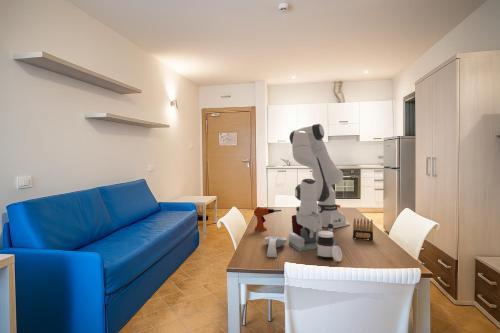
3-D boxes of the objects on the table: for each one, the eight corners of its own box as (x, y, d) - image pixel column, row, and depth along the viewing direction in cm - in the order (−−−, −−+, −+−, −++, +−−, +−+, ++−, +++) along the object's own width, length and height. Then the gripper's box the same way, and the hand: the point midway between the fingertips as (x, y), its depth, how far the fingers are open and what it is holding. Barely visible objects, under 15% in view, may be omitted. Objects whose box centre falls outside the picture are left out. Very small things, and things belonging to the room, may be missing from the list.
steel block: (312, 240, 155) (313, 227, 155) (315, 241, 152) (316, 228, 152) (300, 241, 153) (300, 228, 152) (303, 243, 150) (303, 230, 150)
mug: (290, 231, 180) (291, 213, 179) (305, 231, 179) (305, 213, 178) (292, 236, 168) (292, 218, 167) (307, 237, 167) (307, 218, 166)
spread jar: (317, 252, 143) (318, 229, 142) (341, 254, 139) (342, 231, 139) (316, 261, 131) (316, 236, 130) (342, 264, 128) (342, 238, 127)
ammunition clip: (352, 239, 164) (353, 218, 163) (352, 238, 165) (353, 217, 165) (373, 240, 160) (373, 219, 160) (372, 239, 162) (373, 218, 161)
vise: (324, 239, 162) (324, 229, 162) (336, 245, 152) (336, 234, 151) (288, 244, 155) (288, 233, 155) (298, 250, 145) (298, 239, 144)
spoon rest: (265, 241, 160) (265, 228, 160) (286, 242, 158) (287, 229, 158) (259, 257, 137) (259, 242, 136) (284, 258, 135) (285, 243, 134)
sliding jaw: (326, 236, 163) (327, 221, 162) (338, 242, 152) (339, 226, 152) (311, 238, 159) (312, 222, 159) (323, 244, 149) (323, 227, 149)
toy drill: (282, 231, 174) (279, 206, 174) (253, 231, 182) (251, 208, 181) (284, 229, 179) (281, 205, 179) (256, 229, 186) (253, 206, 186)
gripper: (325, 213, 143) (324, 241, 144) (304, 206, 162) (304, 230, 163) (314, 214, 141) (313, 242, 142) (294, 206, 160) (294, 231, 161)
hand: (308, 236), depth 152 cm, fingers open, 3 cm apart
